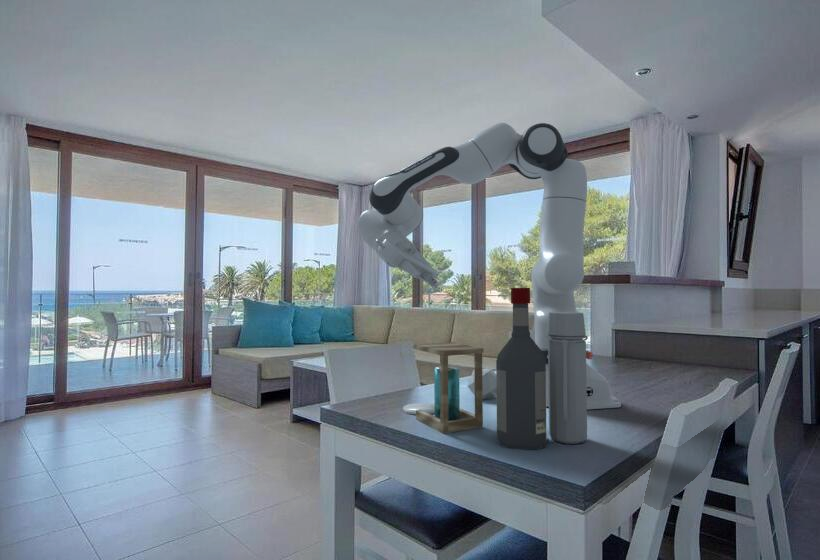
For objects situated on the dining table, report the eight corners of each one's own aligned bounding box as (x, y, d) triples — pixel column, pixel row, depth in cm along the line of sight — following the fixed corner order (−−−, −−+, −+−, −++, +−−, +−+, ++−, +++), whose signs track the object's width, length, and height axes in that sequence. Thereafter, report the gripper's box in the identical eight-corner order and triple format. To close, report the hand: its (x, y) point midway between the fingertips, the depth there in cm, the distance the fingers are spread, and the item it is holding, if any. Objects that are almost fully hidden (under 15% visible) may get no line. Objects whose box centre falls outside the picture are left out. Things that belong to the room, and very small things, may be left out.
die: (496, 405, 123) (510, 373, 127) (468, 389, 123) (482, 357, 127) (486, 409, 130) (499, 378, 134) (459, 394, 130) (473, 364, 134)
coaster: (437, 405, 120) (437, 402, 120) (441, 414, 111) (441, 412, 111) (402, 405, 120) (402, 403, 120) (403, 415, 111) (403, 412, 111)
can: (457, 418, 108) (457, 365, 108) (461, 425, 102) (460, 369, 102) (433, 419, 108) (433, 365, 108) (435, 426, 102) (435, 370, 102)
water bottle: (549, 431, 98) (547, 311, 98) (589, 436, 95) (588, 312, 95) (543, 445, 89) (542, 313, 90) (588, 451, 86) (586, 314, 87)
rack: (414, 418, 108) (414, 344, 108) (451, 413, 113) (451, 342, 113) (444, 434, 96) (443, 351, 97) (484, 427, 101) (483, 348, 101)
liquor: (496, 447, 88) (494, 288, 89) (500, 433, 97) (498, 288, 98) (546, 451, 86) (544, 287, 86) (545, 436, 95) (544, 287, 95)
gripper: (380, 227, 117) (412, 257, 109) (423, 253, 133) (453, 281, 125) (365, 247, 118) (395, 278, 110) (409, 270, 134) (438, 299, 126)
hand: (426, 280), depth 117 cm, fingers open, 8 cm apart
